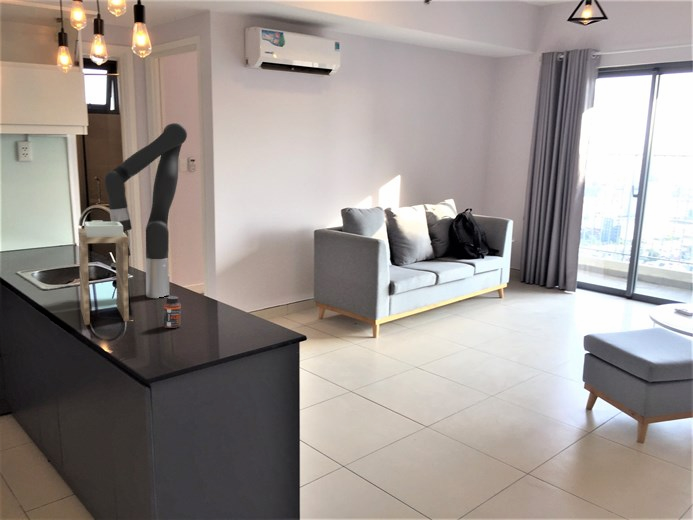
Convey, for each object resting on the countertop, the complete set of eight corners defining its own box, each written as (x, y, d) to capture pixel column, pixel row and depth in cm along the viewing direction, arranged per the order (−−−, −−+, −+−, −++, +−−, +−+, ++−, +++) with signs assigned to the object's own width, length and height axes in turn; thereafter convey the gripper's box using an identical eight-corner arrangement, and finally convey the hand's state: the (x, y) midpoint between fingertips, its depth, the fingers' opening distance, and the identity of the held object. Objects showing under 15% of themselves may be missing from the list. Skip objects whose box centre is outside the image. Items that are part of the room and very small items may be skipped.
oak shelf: (120, 305, 237) (119, 228, 231) (129, 321, 216) (127, 237, 210) (80, 308, 230) (78, 228, 224) (85, 325, 209) (82, 237, 203)
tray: (112, 225, 238) (112, 215, 238) (123, 236, 211) (123, 225, 210) (80, 225, 233) (80, 215, 232) (87, 237, 205) (86, 226, 204)
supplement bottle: (171, 330, 209) (171, 300, 207) (160, 327, 212) (160, 297, 210) (184, 326, 214) (184, 297, 212) (172, 323, 217) (172, 294, 215)
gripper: (128, 219, 236) (135, 258, 239) (131, 216, 250) (137, 253, 253) (109, 222, 234) (116, 261, 237) (112, 219, 248) (119, 256, 251)
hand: (127, 257), depth 245 cm, fingers open, 8 cm apart
